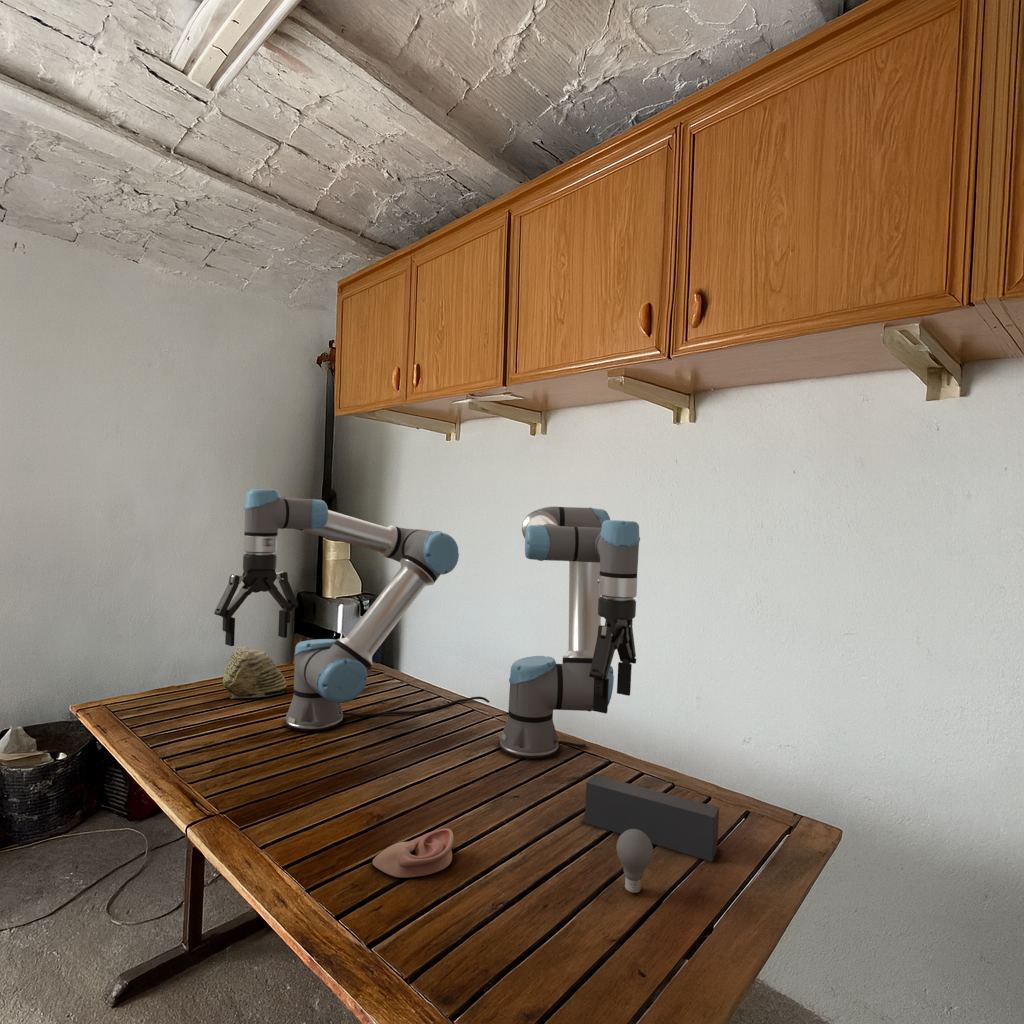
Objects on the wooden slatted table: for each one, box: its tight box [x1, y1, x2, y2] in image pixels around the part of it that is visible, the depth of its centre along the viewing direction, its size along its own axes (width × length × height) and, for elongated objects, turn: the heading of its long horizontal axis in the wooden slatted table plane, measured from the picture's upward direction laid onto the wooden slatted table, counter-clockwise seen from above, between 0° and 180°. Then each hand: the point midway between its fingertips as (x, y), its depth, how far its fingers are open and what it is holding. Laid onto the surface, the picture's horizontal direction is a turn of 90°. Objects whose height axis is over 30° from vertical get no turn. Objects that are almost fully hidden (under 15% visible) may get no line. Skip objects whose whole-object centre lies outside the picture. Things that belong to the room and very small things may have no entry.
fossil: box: [222, 646, 288, 699], centre depth 198 cm, size 9×18×15 cm, turn 132°
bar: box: [584, 774, 720, 863], centre depth 124 cm, size 25×5×8 cm, turn 61°
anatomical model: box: [372, 828, 455, 879], centre depth 112 cm, size 13×4×12 cm
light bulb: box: [615, 829, 654, 894], centre depth 106 cm, size 6×6×10 cm
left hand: (257, 641), depth 153 cm, fingers open, 13 cm apart
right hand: (612, 702), depth 127 cm, fingers open, 13 cm apart
